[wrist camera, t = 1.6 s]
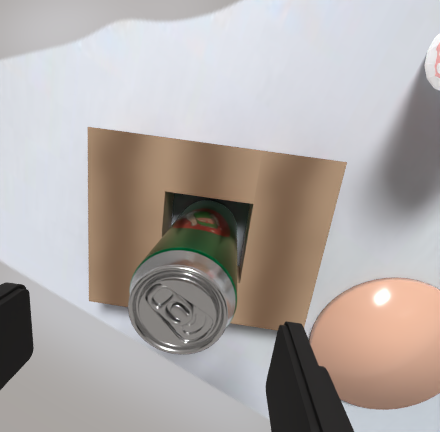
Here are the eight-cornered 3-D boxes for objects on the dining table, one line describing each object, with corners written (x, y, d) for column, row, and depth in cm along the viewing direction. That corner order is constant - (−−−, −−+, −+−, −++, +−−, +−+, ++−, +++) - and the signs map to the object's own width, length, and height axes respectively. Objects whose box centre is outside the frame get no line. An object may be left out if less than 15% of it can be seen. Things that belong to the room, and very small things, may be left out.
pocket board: (331, 160, 20) (346, 162, 17) (294, 311, 24) (302, 334, 21) (108, 129, 21) (87, 126, 18) (106, 282, 24) (88, 301, 22)
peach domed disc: (490, 290, 22) (499, 295, 21) (433, 411, 26) (439, 420, 25) (328, 266, 23) (331, 270, 22) (295, 389, 26) (297, 396, 26)
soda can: (208, 264, 23) (180, 380, 12) (167, 226, 23) (95, 309, 11) (249, 228, 22) (262, 317, 11) (207, 186, 21) (173, 232, 10)
